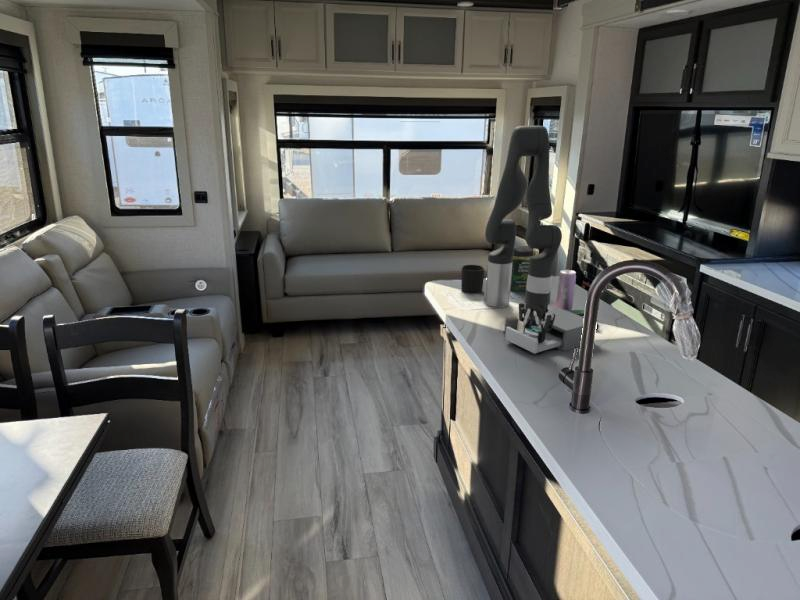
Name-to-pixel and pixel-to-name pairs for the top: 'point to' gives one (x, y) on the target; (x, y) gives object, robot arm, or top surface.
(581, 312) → the disk drive
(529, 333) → the disc
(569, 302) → the beverage can
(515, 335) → the tray
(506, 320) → the pedestal
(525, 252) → the coffee jar
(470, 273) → the pen holder
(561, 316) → the box
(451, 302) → the top surface
